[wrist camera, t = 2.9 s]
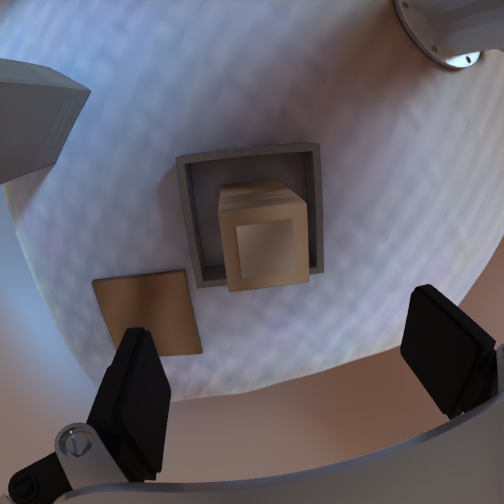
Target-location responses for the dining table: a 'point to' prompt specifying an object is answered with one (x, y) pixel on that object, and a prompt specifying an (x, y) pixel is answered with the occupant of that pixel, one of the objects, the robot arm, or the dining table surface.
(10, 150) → the skincare box
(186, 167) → the bin
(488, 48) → the robot arm
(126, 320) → the walnut board
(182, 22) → the dining table surface
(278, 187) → the beech block
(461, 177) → the dining table surface
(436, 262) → the dining table surface
